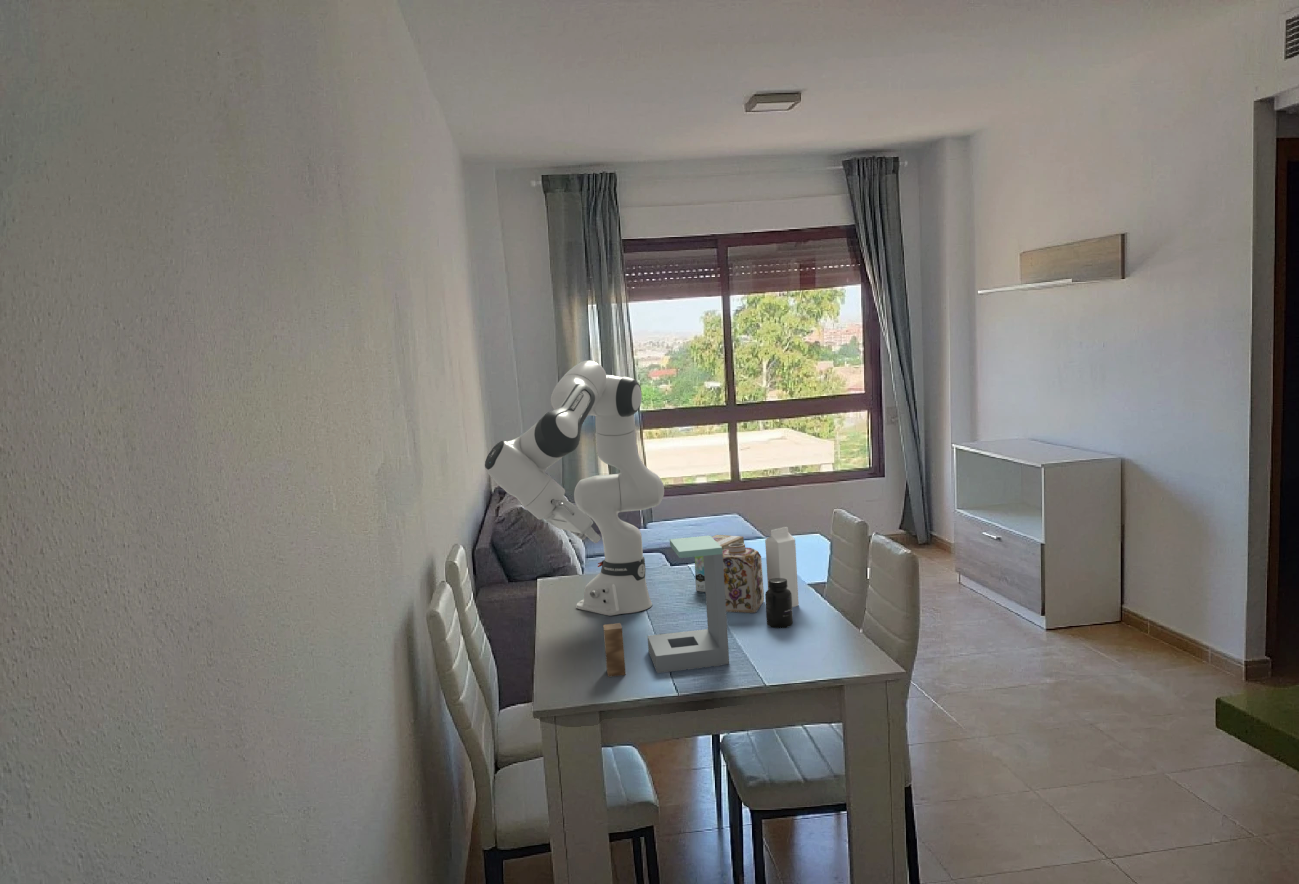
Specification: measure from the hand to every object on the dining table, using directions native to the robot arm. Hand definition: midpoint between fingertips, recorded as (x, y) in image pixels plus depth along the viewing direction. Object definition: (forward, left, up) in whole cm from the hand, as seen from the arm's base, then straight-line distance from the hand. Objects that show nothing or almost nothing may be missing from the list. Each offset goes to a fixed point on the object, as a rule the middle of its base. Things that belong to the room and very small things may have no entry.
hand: (591, 539), depth 199 cm
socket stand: (+12, +17, -32) cm, 38 cm away
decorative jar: (+6, +59, -32) cm, 67 cm away
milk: (+17, +64, -32) cm, 73 cm away
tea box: (-9, +76, -32) cm, 83 cm away
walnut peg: (+2, +3, -32) cm, 32 cm away
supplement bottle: (+23, +48, -32) cm, 62 cm away
